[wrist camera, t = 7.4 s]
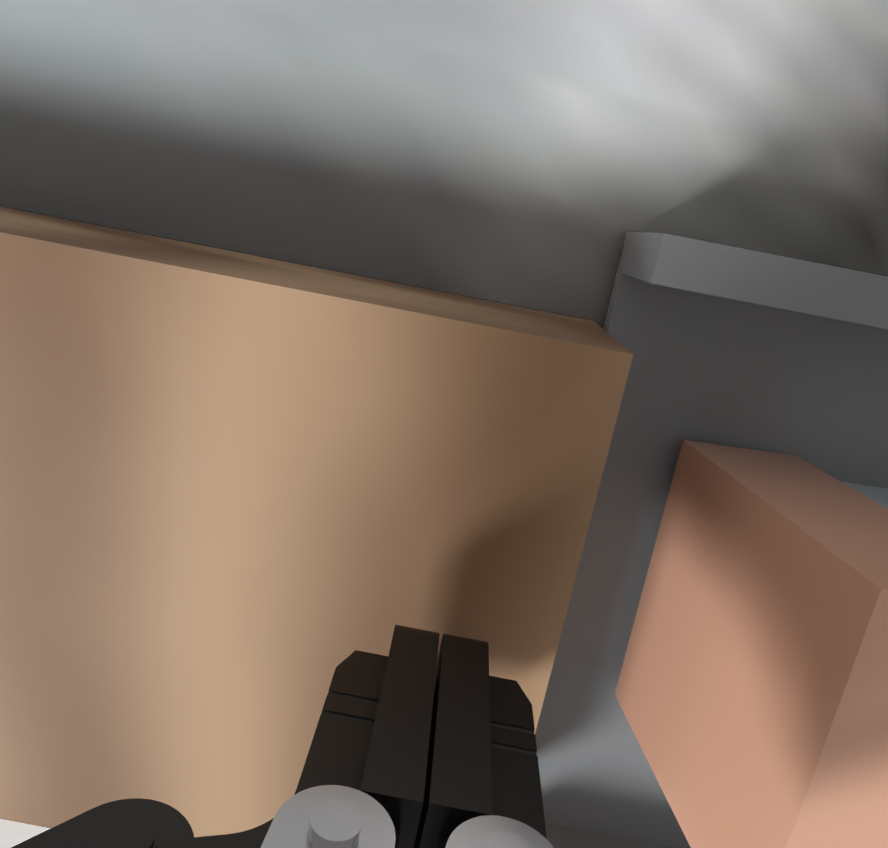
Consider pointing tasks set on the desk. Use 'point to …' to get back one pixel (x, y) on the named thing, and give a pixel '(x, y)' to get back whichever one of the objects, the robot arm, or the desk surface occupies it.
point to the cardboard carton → (262, 505)
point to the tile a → (764, 654)
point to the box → (653, 465)
